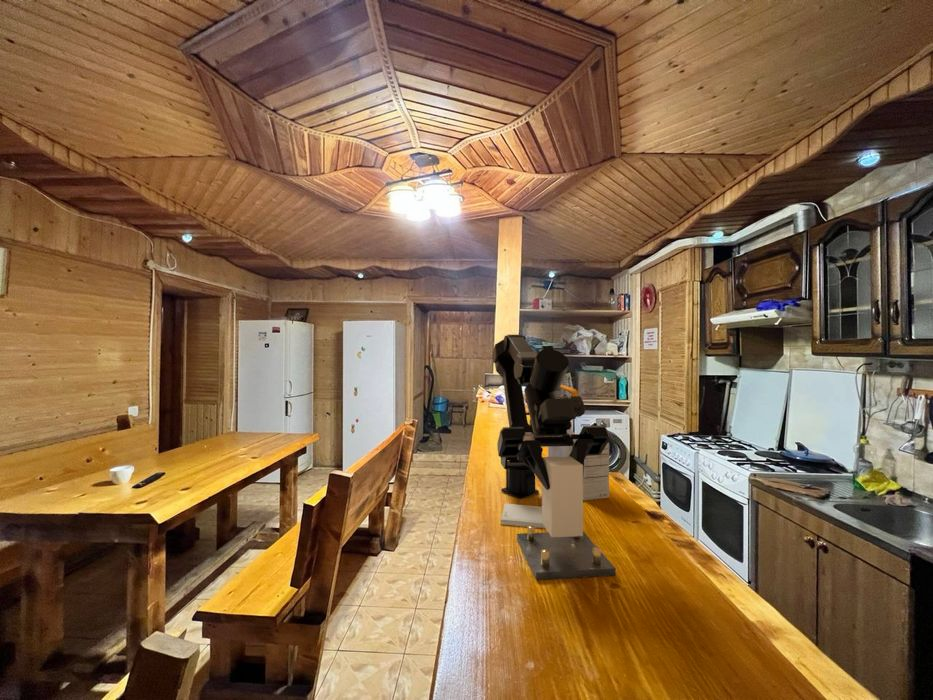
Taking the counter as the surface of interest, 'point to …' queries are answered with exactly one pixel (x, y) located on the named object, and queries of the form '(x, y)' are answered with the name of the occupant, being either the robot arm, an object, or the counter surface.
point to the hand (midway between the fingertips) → (564, 488)
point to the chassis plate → (563, 556)
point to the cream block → (563, 497)
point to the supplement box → (595, 475)
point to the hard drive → (522, 515)
